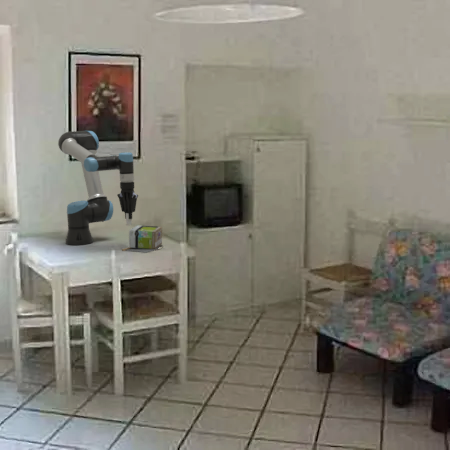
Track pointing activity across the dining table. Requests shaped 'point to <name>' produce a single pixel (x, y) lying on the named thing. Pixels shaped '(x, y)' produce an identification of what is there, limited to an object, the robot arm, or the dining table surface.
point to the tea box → (145, 237)
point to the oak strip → (126, 249)
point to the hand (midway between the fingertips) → (129, 224)
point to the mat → (141, 250)
